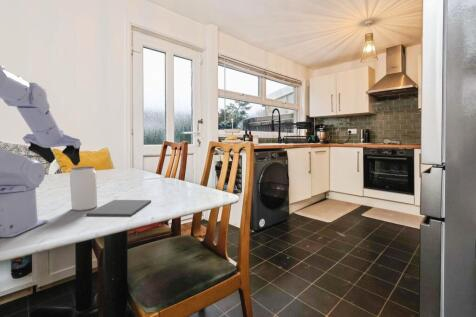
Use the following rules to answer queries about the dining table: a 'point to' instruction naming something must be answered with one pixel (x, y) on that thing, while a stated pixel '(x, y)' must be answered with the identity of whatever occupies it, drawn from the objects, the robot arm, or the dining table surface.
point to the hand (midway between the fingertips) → (64, 161)
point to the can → (83, 188)
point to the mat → (119, 208)
